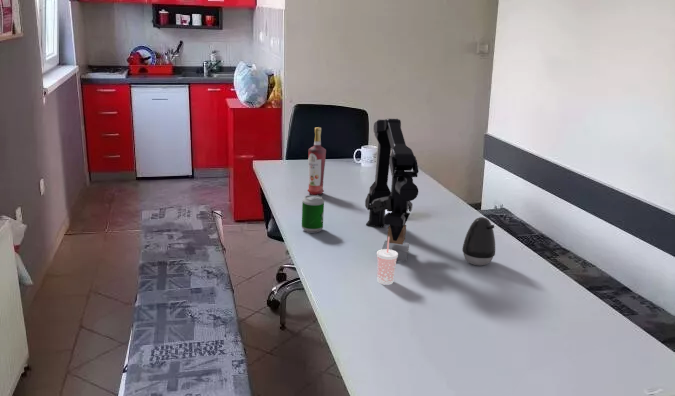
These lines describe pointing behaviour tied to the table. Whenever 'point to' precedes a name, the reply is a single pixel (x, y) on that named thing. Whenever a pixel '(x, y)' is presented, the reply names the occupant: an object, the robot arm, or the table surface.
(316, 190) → the liquor
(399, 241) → the walnut cube
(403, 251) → the slate block
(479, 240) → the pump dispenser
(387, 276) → the beverage cup
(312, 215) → the soda can
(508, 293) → the table surface
